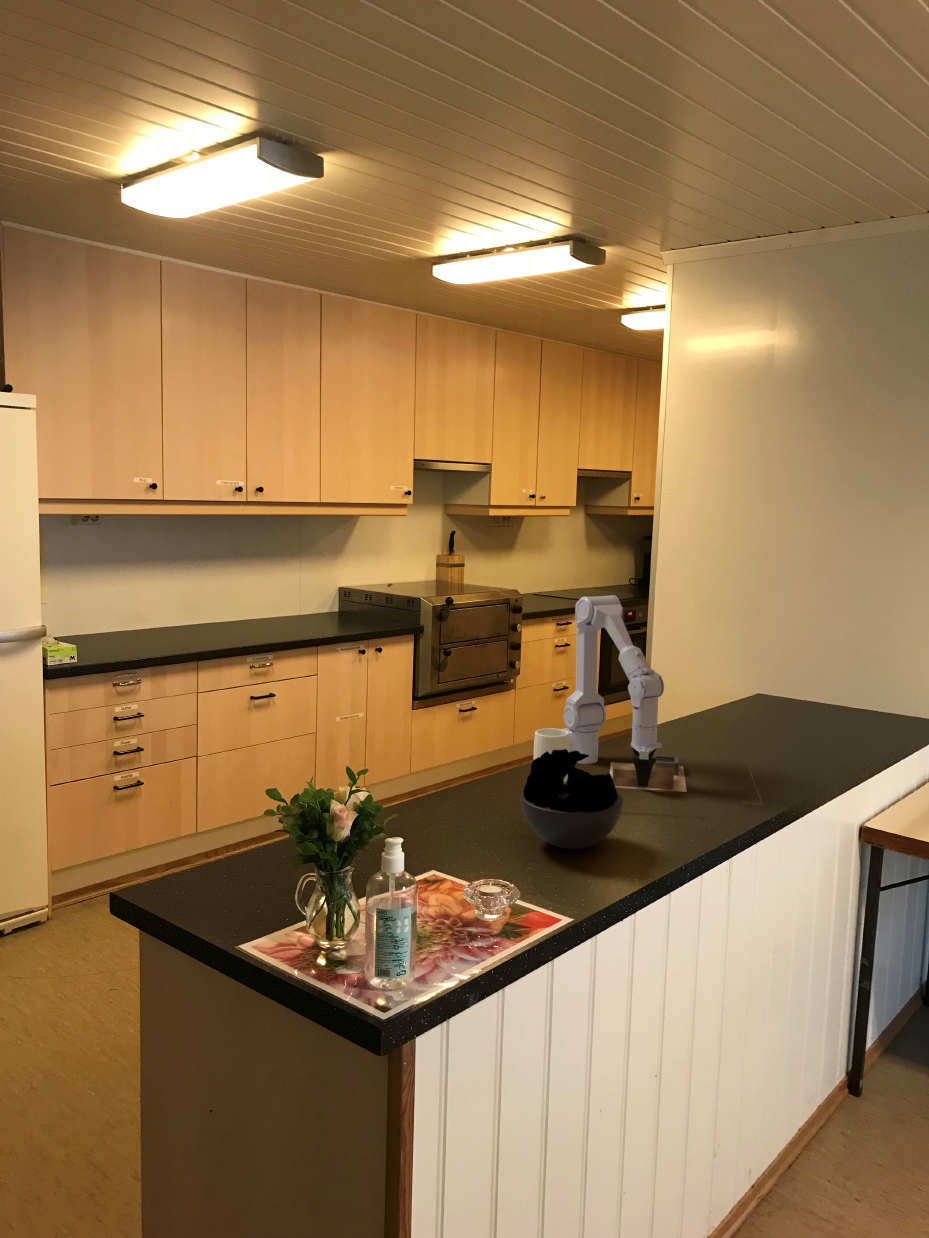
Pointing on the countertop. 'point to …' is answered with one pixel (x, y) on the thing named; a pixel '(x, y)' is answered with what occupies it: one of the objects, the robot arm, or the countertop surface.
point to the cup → (551, 742)
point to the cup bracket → (668, 763)
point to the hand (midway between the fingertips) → (642, 781)
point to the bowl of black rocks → (569, 801)
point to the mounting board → (677, 786)
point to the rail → (657, 779)
